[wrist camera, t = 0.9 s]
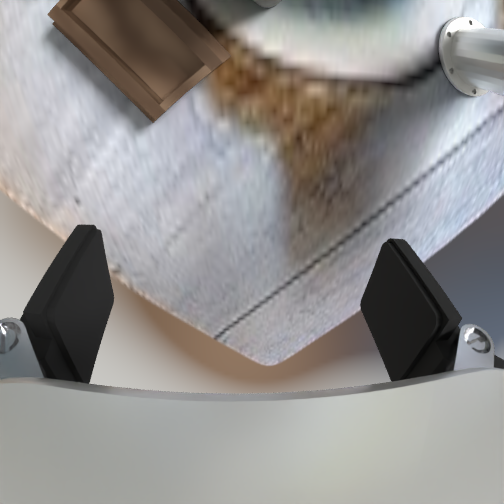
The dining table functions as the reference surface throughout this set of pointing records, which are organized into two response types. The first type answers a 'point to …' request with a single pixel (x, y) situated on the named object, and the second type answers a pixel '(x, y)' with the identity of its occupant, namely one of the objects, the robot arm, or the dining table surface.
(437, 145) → the dining table surface
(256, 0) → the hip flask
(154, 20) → the walnut stand
